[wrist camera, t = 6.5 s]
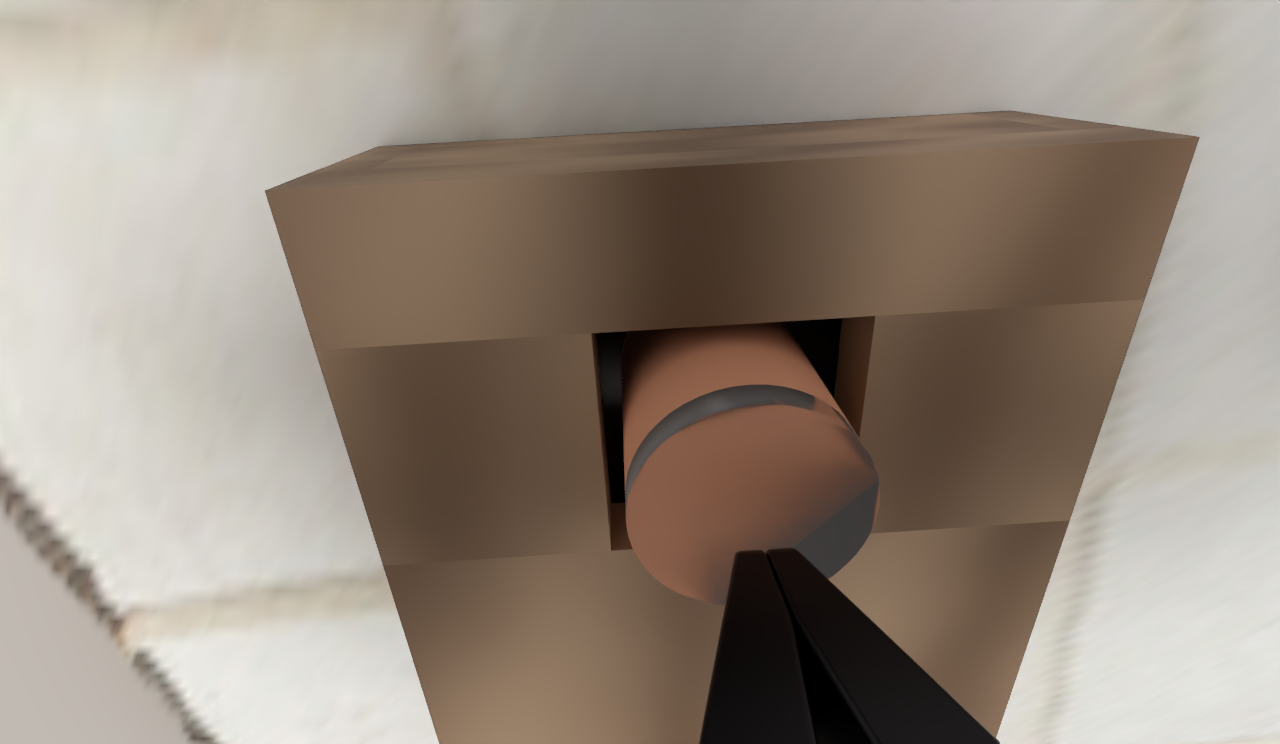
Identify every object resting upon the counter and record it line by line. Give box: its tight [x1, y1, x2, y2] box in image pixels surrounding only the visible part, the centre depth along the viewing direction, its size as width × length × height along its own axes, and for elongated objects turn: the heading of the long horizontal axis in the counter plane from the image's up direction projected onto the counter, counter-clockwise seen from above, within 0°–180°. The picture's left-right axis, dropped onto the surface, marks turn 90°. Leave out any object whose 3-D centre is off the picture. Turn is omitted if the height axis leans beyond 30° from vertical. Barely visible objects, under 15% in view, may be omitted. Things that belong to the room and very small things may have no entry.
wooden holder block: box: [265, 111, 1199, 744], centre depth 17 cm, size 14×22×5 cm, turn 3°
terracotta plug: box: [621, 322, 880, 606], centre depth 12 cm, size 4×4×6 cm
